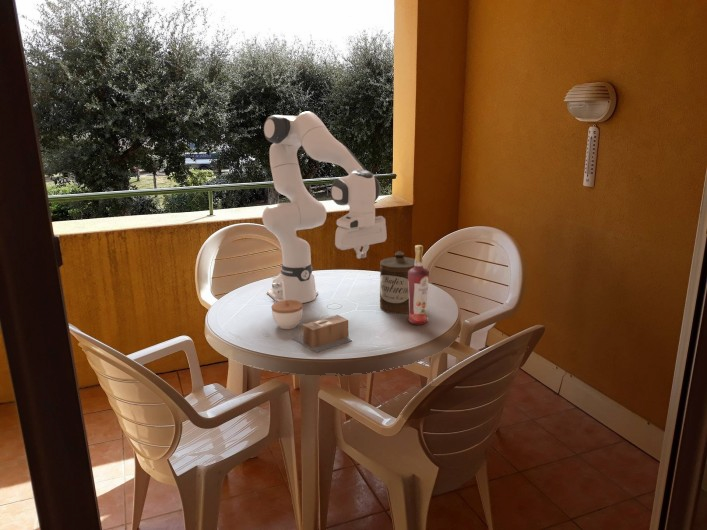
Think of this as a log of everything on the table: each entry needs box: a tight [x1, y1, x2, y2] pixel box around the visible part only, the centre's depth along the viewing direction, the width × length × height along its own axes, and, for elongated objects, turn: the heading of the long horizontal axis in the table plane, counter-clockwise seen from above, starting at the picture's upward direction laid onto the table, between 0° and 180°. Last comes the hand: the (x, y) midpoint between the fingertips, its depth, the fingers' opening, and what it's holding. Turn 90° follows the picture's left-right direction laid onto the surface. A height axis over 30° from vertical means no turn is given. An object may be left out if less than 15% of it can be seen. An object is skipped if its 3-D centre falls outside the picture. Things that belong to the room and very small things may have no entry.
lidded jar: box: [271, 300, 303, 330], centre depth 195 cm, size 11×11×9 cm
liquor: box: [407, 244, 430, 326], centre depth 194 cm, size 7×7×28 cm
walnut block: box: [302, 314, 350, 348], centre depth 183 cm, size 6×6×14 cm
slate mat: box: [292, 334, 353, 353], centre depth 184 cm, size 14×14×1 cm
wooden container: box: [379, 251, 415, 315], centre depth 210 cm, size 15×15×22 cm
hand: (361, 257), depth 193 cm, fingers closed
